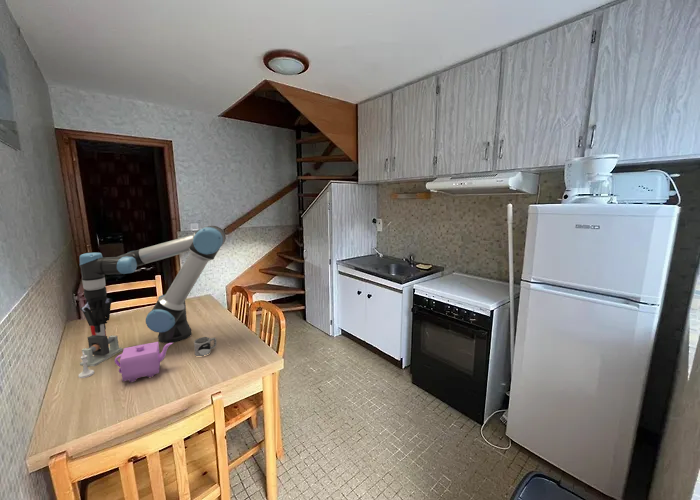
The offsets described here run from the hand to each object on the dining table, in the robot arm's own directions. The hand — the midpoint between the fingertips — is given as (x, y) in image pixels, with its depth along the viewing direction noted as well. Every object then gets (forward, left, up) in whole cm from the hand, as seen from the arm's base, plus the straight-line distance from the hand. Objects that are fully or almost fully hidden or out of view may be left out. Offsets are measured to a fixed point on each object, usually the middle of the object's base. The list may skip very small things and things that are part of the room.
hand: (101, 338), depth 132 cm
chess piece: (-6, +14, -9) cm, 18 cm away
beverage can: (+11, -9, -9) cm, 17 cm away
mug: (-44, -9, -9) cm, 46 cm away
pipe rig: (0, +1, -9) cm, 9 cm away
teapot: (-30, +10, -9) cm, 33 cm away
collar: (0, +2, -7) cm, 7 cm away
